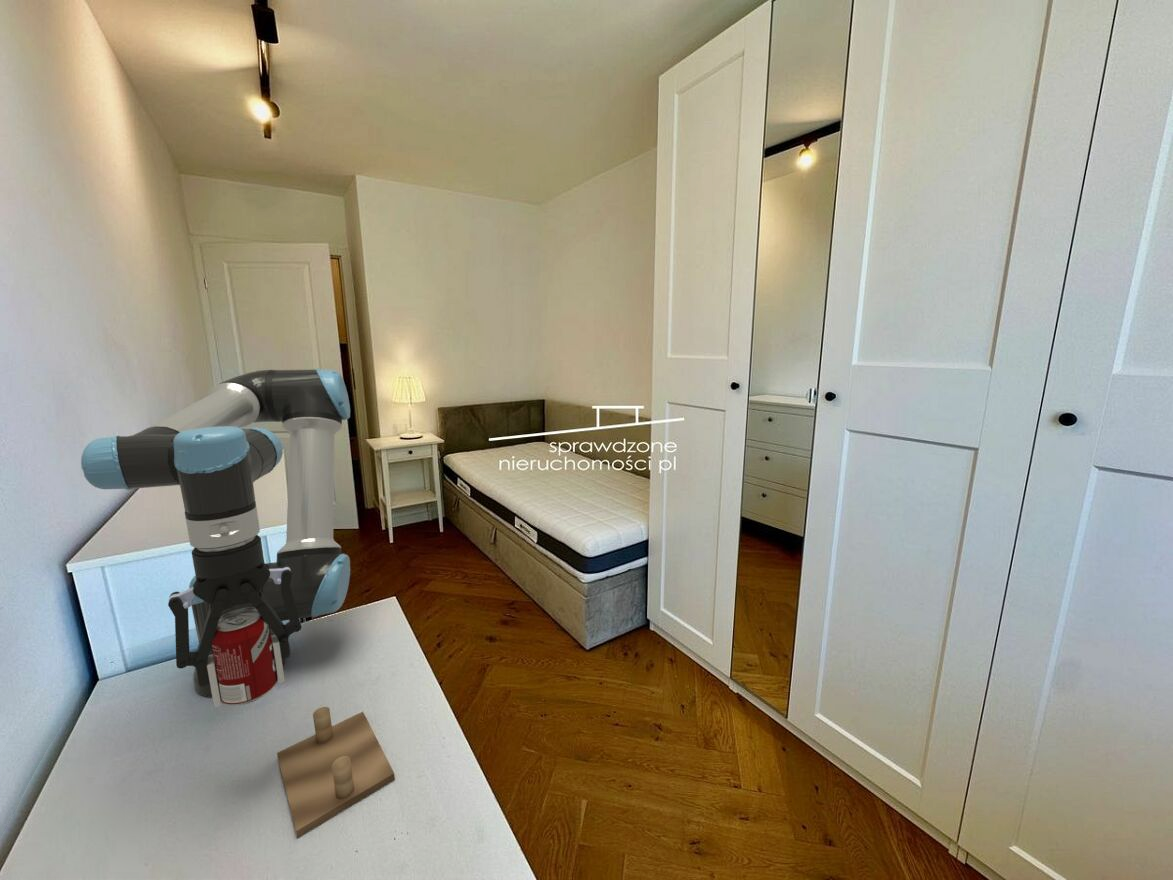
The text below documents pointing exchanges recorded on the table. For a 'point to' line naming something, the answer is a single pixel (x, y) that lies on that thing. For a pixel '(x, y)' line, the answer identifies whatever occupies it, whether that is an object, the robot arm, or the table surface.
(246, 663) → the soda can
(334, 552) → the robot arm
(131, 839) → the table surface
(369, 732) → the pegboard
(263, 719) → the table surface
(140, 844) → the table surface
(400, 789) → the table surface
